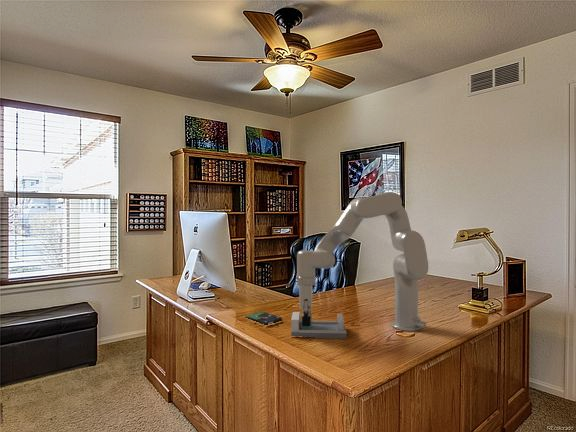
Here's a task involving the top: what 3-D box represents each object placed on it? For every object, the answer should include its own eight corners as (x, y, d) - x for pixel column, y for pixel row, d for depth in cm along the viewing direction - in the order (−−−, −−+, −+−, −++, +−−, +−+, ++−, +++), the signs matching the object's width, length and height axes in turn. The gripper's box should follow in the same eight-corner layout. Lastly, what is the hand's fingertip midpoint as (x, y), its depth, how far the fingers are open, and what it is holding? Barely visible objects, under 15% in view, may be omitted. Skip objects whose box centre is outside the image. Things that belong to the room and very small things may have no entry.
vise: (344, 328, 155) (344, 312, 155) (346, 338, 143) (346, 320, 143) (293, 327, 157) (292, 311, 157) (291, 337, 145) (291, 320, 145)
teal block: (311, 325, 153) (311, 312, 153) (311, 329, 148) (311, 316, 148) (302, 325, 153) (302, 312, 153) (301, 329, 148) (301, 316, 148)
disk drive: (282, 323, 165) (261, 316, 175) (282, 317, 165) (261, 310, 175) (265, 329, 157) (244, 321, 168) (265, 322, 157) (244, 315, 168)
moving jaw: (341, 324, 154) (341, 313, 154) (343, 332, 144) (343, 320, 144) (337, 324, 155) (337, 313, 154) (338, 332, 145) (338, 320, 145)
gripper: (298, 276, 159) (298, 316, 159) (296, 284, 142) (296, 329, 142) (315, 276, 159) (315, 317, 159) (315, 284, 141) (315, 330, 142)
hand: (306, 322), depth 151 cm, fingers open, 6 cm apart
